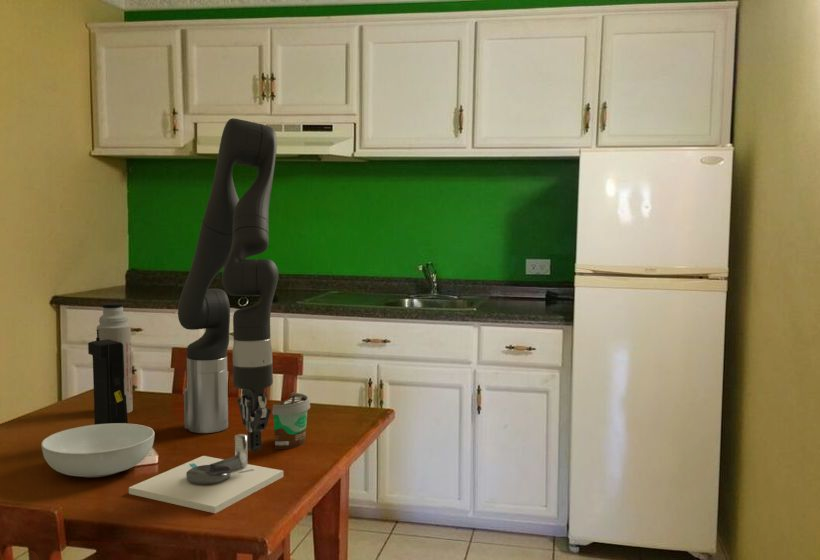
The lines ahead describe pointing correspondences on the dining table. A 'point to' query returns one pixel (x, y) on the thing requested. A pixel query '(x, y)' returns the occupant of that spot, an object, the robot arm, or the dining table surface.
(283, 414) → the food container
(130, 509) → the dining table surface
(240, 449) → the dial
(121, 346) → the portable radio
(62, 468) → the serving bowl
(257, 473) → the dial plate
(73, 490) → the dining table surface
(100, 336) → the thermos bottle
